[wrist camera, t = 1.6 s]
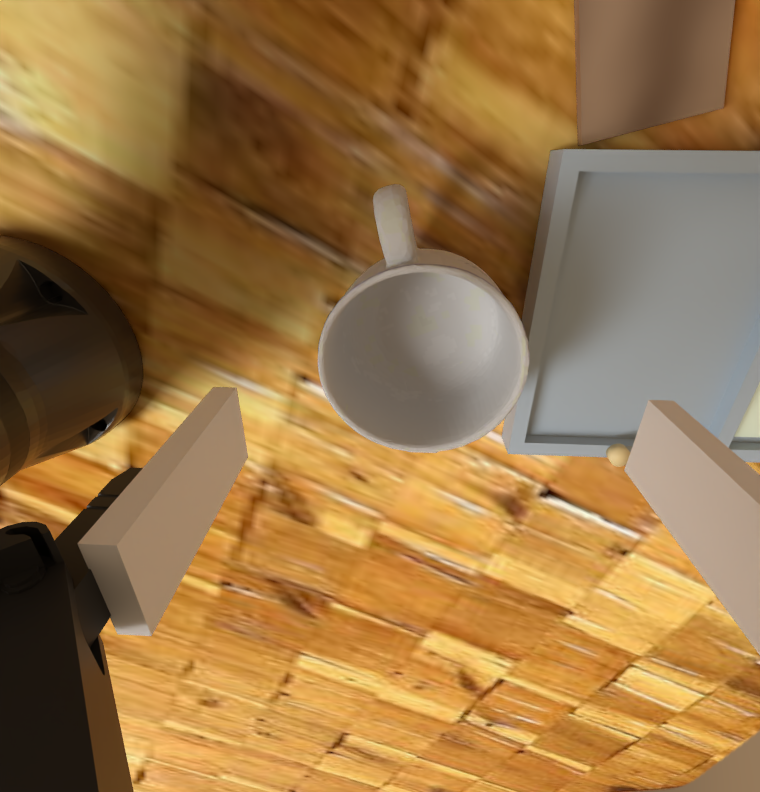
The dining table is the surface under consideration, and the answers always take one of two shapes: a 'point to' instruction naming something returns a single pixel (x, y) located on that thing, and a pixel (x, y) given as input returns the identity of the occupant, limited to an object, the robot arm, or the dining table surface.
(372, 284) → the teacup
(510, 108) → the dining table surface
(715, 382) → the grey divided tray
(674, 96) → the walnut coaster
